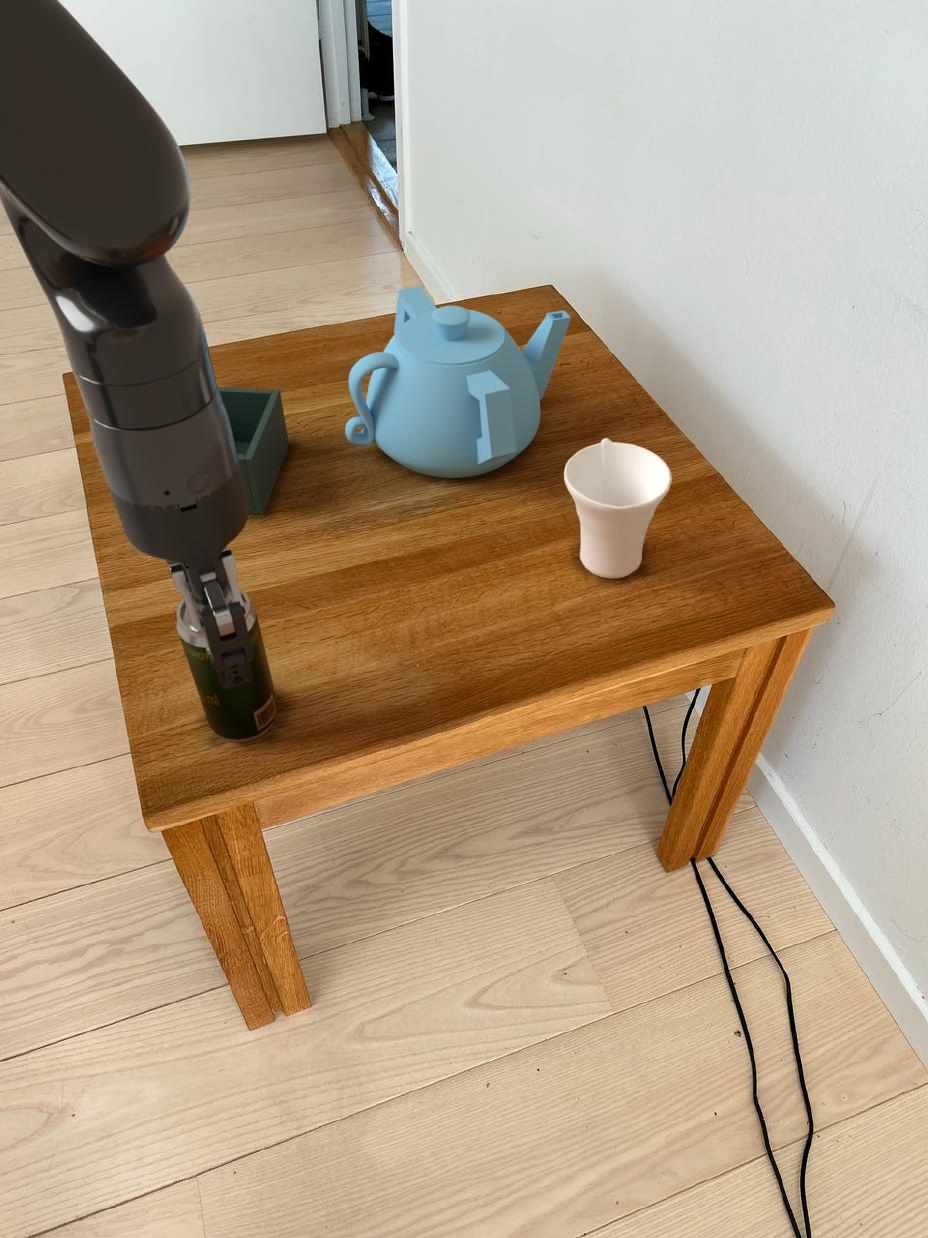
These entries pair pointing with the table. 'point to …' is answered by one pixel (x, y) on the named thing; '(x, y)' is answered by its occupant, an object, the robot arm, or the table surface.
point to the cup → (615, 503)
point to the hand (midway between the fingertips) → (226, 653)
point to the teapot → (453, 388)
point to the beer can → (241, 707)
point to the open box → (257, 439)
